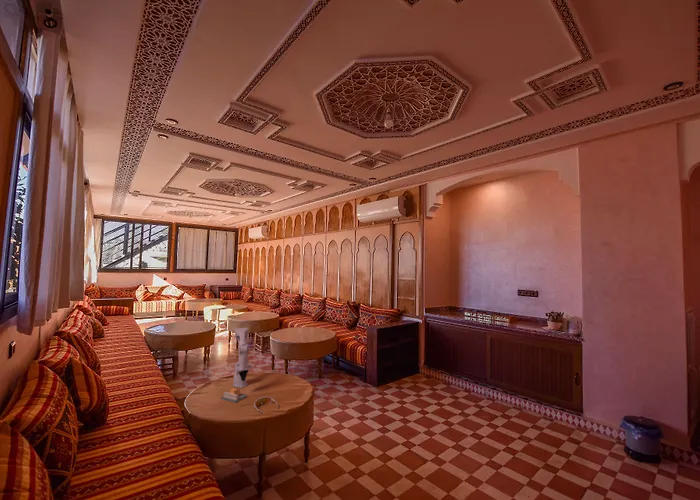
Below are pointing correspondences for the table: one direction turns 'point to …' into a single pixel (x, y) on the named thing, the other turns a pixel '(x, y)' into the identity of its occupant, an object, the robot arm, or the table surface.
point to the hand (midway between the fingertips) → (243, 380)
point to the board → (233, 397)
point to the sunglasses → (264, 401)
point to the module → (235, 391)
